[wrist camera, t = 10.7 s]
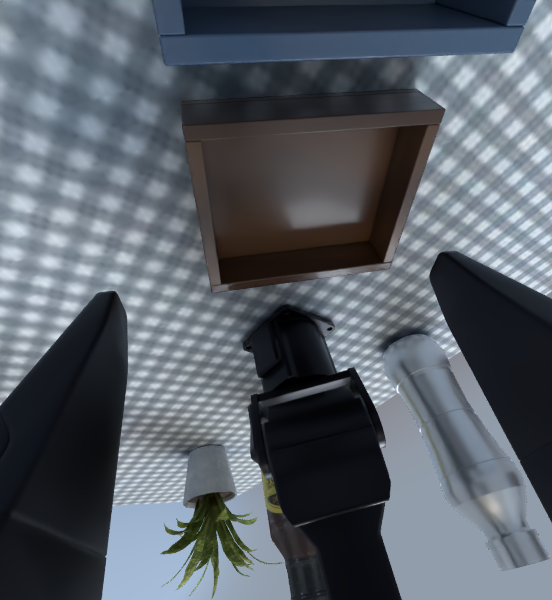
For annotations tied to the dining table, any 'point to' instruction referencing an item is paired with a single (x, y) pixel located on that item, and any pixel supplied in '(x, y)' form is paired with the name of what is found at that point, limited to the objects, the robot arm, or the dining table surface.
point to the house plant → (210, 513)
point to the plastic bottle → (464, 451)
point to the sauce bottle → (294, 551)
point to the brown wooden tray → (305, 181)
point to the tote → (334, 29)
